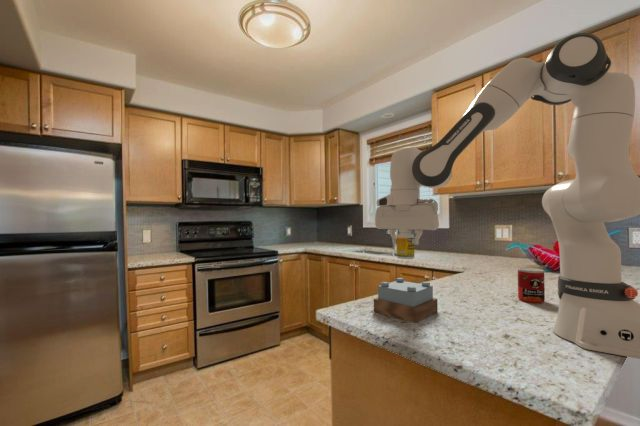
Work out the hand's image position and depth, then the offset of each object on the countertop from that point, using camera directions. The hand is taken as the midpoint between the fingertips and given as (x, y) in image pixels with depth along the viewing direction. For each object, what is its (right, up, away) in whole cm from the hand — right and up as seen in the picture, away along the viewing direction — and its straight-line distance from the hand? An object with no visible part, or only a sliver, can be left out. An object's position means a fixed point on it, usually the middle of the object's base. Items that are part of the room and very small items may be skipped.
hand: (405, 244), depth 93 cm
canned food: (+47, -21, +12) cm, 53 cm away
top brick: (0, -17, 0) cm, 17 cm away
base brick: (0, -21, 0) cm, 21 cm away
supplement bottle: (0, -5, 0) cm, 5 cm away
